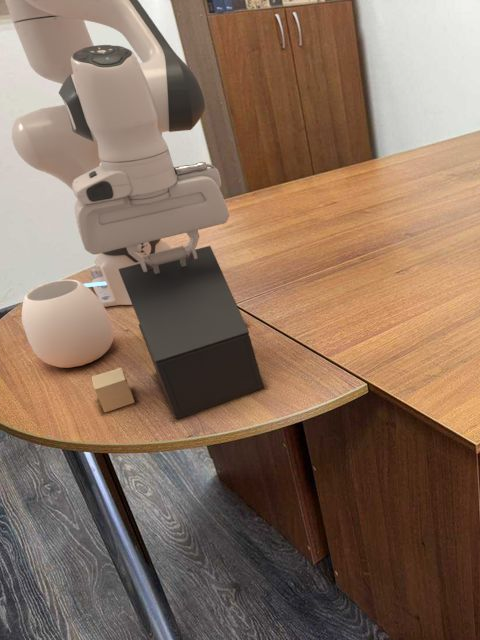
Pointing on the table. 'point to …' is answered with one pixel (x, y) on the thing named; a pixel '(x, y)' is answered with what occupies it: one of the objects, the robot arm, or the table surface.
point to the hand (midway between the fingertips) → (170, 264)
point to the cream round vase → (66, 323)
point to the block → (112, 389)
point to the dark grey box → (209, 375)
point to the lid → (183, 303)
